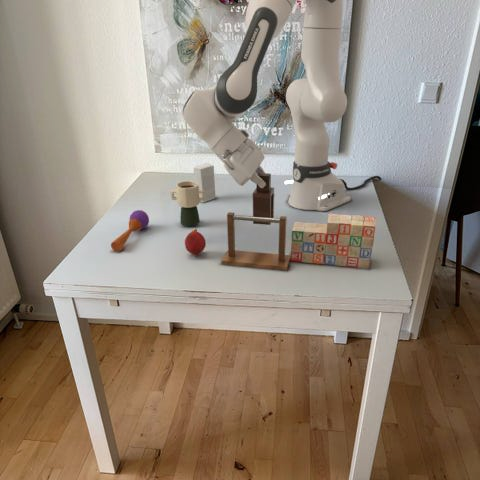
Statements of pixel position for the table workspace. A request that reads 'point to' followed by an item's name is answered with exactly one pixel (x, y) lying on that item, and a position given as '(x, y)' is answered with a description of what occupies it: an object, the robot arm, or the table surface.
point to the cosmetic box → (205, 180)
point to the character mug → (188, 201)
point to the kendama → (131, 228)
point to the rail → (256, 258)
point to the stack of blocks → (334, 241)
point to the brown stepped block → (263, 200)
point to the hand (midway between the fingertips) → (265, 183)
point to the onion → (195, 242)
